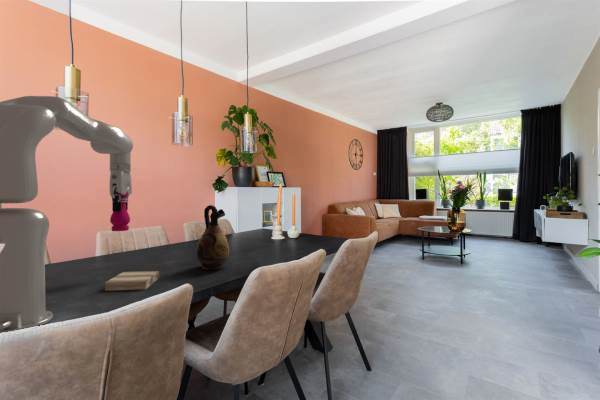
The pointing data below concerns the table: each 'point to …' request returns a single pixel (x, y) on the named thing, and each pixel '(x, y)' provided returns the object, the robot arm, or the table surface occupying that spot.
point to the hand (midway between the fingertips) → (120, 210)
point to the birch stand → (132, 280)
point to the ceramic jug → (212, 241)
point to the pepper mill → (120, 216)
